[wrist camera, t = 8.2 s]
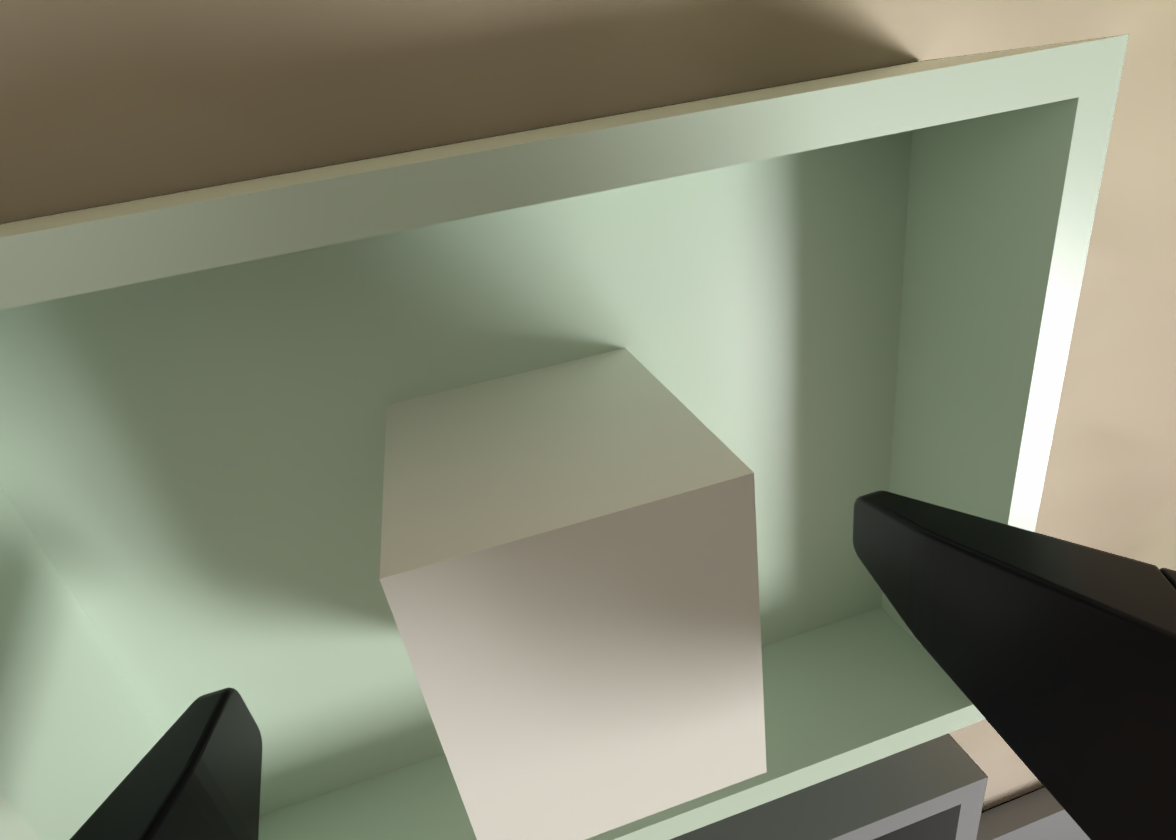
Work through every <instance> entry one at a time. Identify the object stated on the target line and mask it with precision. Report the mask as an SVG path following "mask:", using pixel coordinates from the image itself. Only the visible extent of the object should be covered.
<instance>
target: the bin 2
mask: <svg viewBox="0 0 1176 840" xmlns="http://www.w3.org/2000/svg"><path fill="white" fill-rule="evenodd" d="M987 780H988V776H987V775H986V774H985V773H984V772H983V771H982V770H981V769H980V767H979V766H978V765H977V764H976V763H975V762H974V761H973V760H972V759H971V758H970V756H969V755H968V754H967V753H966V752H965V751H964V750H963V749H962V748H961V747H960V745H959V744H958V743H957V742H956V741H955V740H954V739H953V738H952V737H951V736H950V734H949V733H948V734H945V735H943V736H940V737H937V738H935V739H932V740H929V741H927V742H924V743H922V744H919V745H916V746H914V747H911V748H908V749H906V750H903V751H901V752H898V753H895V754H893V755H890V756H887V757H885V758H882V759H880V760H877V761H874V762H872V763H869V764H867V765H864V766H861V767H859V768H856V769H853V770H851V771H848V772H846V773H843V774H840V775H838V776H835V777H832V778H830V779H827V780H825V781H822V782H819V783H817V784H814V785H811V786H809V787H806V788H804V789H801V790H798V791H796V792H793V793H790V794H788V795H785V796H783V797H780V798H777V799H775V800H772V801H769V802H767V803H764V804H762V805H759V806H756V807H754V808H751V809H748V810H746V811H743V812H741V813H738V814H735V815H733V816H730V817H727V818H725V819H722V820H720V821H717V822H714V823H712V824H709V825H706V826H704V827H701V828H699V829H696V830H693V831H691V832H688V833H685V834H683V835H680V836H678V837H675V838H672V839H670V840H976V838H977V832H978V827H979V822H980V817H981V811H982V806H983V801H984V796H985V790H986V785H987Z"/></svg>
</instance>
